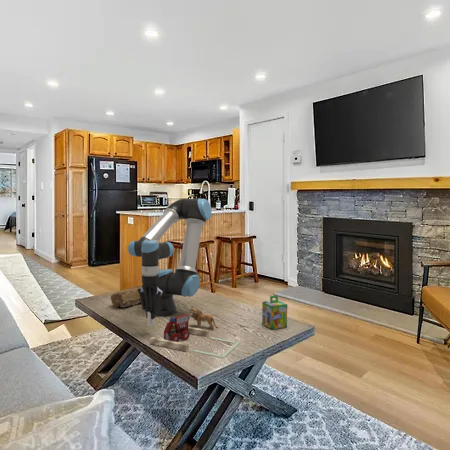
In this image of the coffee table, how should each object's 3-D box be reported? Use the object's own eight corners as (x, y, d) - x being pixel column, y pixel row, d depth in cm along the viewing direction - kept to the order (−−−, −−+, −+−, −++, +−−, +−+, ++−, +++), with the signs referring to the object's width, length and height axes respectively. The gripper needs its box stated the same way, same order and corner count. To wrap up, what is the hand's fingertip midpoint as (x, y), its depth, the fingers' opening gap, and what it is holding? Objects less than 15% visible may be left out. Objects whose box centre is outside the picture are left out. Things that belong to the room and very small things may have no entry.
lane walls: (150, 344, 154) (150, 338, 153) (175, 329, 171) (175, 324, 171) (186, 351, 146) (186, 345, 146) (208, 335, 163) (208, 330, 163)
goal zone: (192, 351, 146) (192, 351, 146) (211, 337, 161) (211, 337, 161) (223, 358, 140) (223, 357, 140) (240, 342, 155) (240, 342, 155)
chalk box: (272, 330, 170) (272, 299, 169) (261, 324, 178) (261, 295, 177) (287, 327, 174) (288, 297, 173) (276, 321, 182) (277, 292, 181)
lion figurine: (188, 327, 174) (188, 309, 173) (192, 323, 179) (192, 306, 178) (216, 331, 169) (216, 312, 168) (220, 327, 174) (220, 309, 173)
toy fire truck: (160, 340, 158) (160, 317, 157) (184, 333, 166) (184, 311, 165) (168, 345, 153) (168, 321, 152) (192, 338, 160) (192, 315, 160)
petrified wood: (124, 310, 199) (120, 292, 199) (109, 311, 206) (106, 293, 206) (149, 300, 215) (146, 284, 215) (134, 301, 222) (131, 286, 223)
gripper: (133, 274, 163) (134, 325, 164) (157, 277, 157) (157, 330, 159) (143, 271, 169) (144, 320, 171) (166, 274, 164) (167, 325, 165)
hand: (150, 325), depth 165 cm, fingers closed
